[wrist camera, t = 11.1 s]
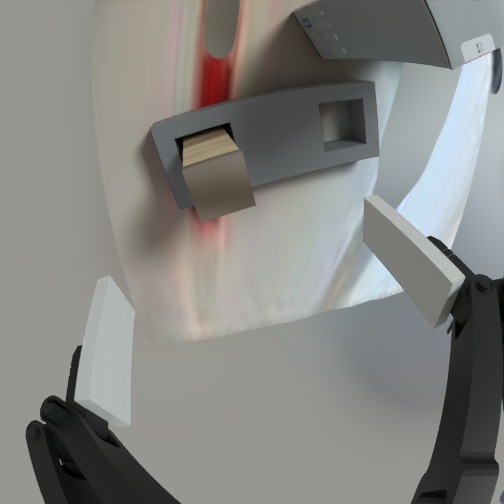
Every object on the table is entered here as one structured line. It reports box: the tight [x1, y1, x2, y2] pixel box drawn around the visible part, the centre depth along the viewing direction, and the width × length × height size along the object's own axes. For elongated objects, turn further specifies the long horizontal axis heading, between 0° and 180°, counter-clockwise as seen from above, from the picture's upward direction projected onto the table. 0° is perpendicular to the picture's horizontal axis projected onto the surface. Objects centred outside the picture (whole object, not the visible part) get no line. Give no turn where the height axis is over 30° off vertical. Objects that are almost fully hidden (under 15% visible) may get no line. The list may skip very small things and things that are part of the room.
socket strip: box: [150, 80, 379, 210], centre depth 30 cm, size 10×26×4 cm, turn 102°
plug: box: [182, 125, 256, 223], centre depth 26 cm, size 5×5×13 cm
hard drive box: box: [294, 0, 504, 70], centre depth 16 cm, size 16×8×20 cm, turn 122°
